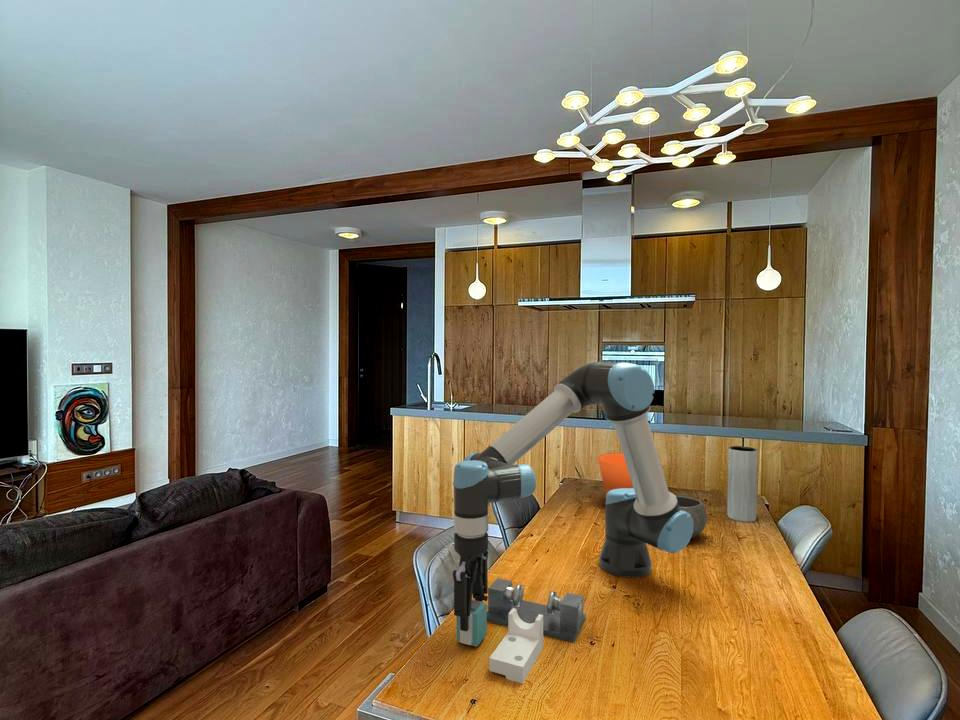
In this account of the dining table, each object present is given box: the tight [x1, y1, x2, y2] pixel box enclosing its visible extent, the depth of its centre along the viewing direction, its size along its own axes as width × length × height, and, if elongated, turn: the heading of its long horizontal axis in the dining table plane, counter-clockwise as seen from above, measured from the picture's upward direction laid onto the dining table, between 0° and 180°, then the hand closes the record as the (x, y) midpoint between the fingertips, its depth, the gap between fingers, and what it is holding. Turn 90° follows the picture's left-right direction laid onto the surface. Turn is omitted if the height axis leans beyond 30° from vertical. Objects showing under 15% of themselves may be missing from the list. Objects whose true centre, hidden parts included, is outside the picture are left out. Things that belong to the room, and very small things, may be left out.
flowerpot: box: [597, 452, 661, 496], centre depth 212 cm, size 25×25×20 cm
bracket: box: [488, 608, 544, 685], centre depth 107 cm, size 13×7×8 cm, turn 156°
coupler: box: [455, 601, 488, 647], centre depth 114 cm, size 5×5×8 cm
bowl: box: [675, 495, 708, 539], centre depth 179 cm, size 18×18×13 cm
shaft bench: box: [487, 577, 587, 643], centre depth 123 cm, size 22×11×8 cm, turn 66°
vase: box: [726, 445, 758, 523], centre depth 198 cm, size 10×10×27 cm
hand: (471, 635), depth 114 cm, fingers closed on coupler, 5 cm apart
